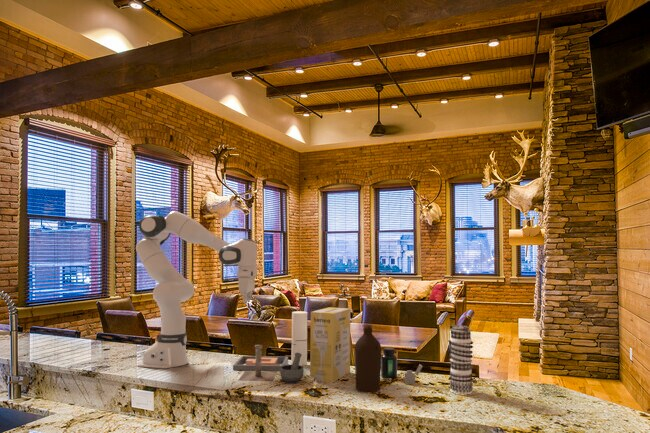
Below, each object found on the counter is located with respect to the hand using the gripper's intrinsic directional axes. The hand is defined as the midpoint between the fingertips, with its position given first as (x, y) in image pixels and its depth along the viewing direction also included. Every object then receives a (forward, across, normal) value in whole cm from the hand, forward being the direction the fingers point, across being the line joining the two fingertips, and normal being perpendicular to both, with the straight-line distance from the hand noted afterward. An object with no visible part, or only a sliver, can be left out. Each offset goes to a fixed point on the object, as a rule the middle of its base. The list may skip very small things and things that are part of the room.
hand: (247, 301), depth 227 cm
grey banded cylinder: (+30, +39, +92) cm, 104 cm away
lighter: (+30, +30, +75) cm, 86 cm away
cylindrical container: (+29, +6, +26) cm, 40 cm away
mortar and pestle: (+29, +34, +26) cm, 52 cm away
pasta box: (+29, +20, +41) cm, 54 cm away
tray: (+29, +10, +9) cm, 32 cm away
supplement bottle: (+29, +20, +66) cm, 75 cm away
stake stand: (+29, +28, +11) cm, 42 cm away
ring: (+28, +10, +9) cm, 31 cm away
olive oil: (+29, +38, +56) cm, 74 cm away
